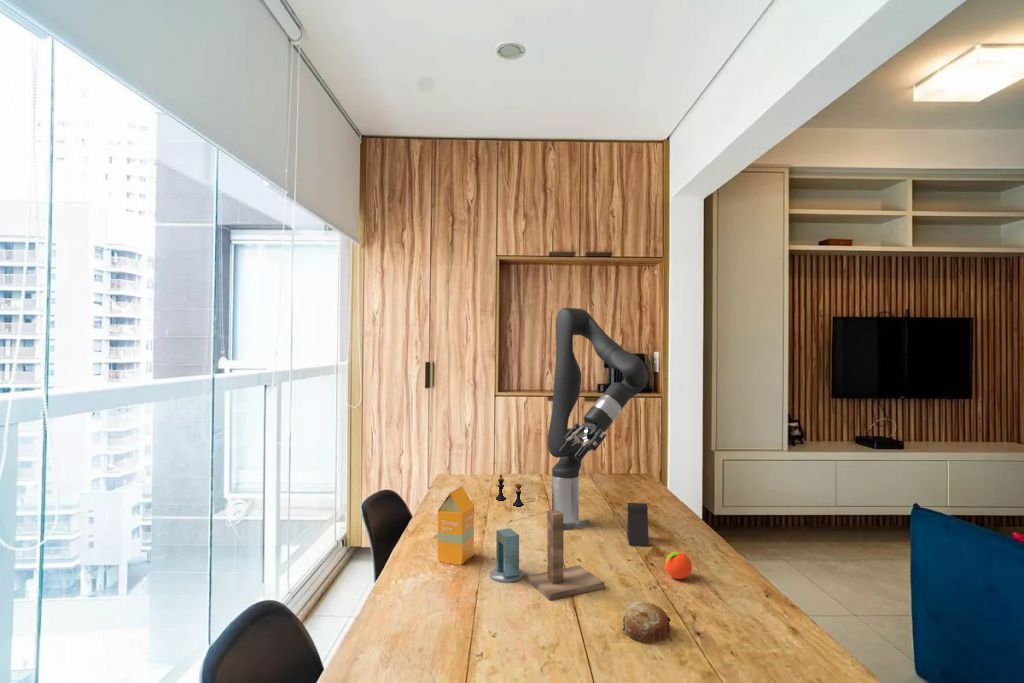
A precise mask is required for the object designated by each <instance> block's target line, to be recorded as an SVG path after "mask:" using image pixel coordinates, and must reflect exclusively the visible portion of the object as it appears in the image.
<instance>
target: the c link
mask: <svg viewBox="0 0 1024 683" xmlns="http://www.w3.org/2000/svg"><path fill="white" fill-rule="evenodd" d="M495 549H496V553H495V556H496V559H495V560H496V568H495V569H496V571H497V572H503V571H504V578H505V579H509V578H514V577H519V569H520V535H519V533H517V532H516V531H515V530H513V529H512V528H510V527H508V528H502V529H496V548H495Z"/></svg>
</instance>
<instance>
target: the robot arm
mask: <svg viewBox="0 0 1024 683" xmlns="http://www.w3.org/2000/svg"><path fill="white" fill-rule="evenodd" d="M574 336H582V337H583V338H585V339H587V340H588V341H589V342H591V344H592V347H593V349H594V352H595V354H596V355H597V357H599V359H600V360H602V361H603V363H605V364H606V365H607V366H608V367H610V368H611V369H613V370H617V371H618V370H619V371H620V373H621V374H622V376H623V380H622V381H621V382H618V381H617V382H612V383H611V384H610V385H609V386H608V388H606V390H605V391H604V393H603V394H602V395H601V396H600V397H599V398H597V400H596V401H595V402H594V403H593V404H592V406H591V407H590V408H589V410H587V412H586V413H585V414H584V416H583V421H584V423H583V424H582V425H580V424H578V423H574V425H573V426H572V427H571V428H570V427H569V420H570V416H571V413H572V412H573V409H574V408H575V405H576V404H577V401H578V399H579V397H580V394H581V387H582V372H581V367H580V365H579V363H578V360H577V359H576V356H575V354H574V349H573V348H574V346H573V345H574V344H573V342H574ZM553 379H554V380H553V395H552V405H551V406H552V407H551V408H552V409H551V416H550V422H549V428H548V432H547V449H548V452H549V453H550V455H551V456H552V457H554V458H559V460H558V461H557V462H556V464H554V465H553V466H552V470H551V474H552V476H551V481H552V482H551V483H552V485H551V486H552V487H551V489H552V490H551V493H552V510H551V511H556V510H558V511H560V512H562V513H563V523H568V522H574V521H580V502H579V501H580V483H579V482H580V481H579V480H580V478H579V477H580V469H581V468H582V460H583V459H584V457H585V456H586V455H587V454H588V452H591V451H593V452H595V451H596V450H597V449H598V448H599V447H600V445H601V444H602V442H603V441H604V440H605V439H606V437H607V434H606V432H607V430H608V429H609V428H610V427H611V426H612V425H613V423H614V421H615V420H616V419H617V418H618V416H619V415H620V413H621V411H622V410H623V408H625V406H626V405H627V403H629V401H630V400H631V399H632V398H634V397H635V396H637V394H639V393H640V392H641V391H642V390H643V389H644V388H646V385H647V384H648V380H649V375H648V372H647V368H646V365H645V362H644V361H643V360H642V359H641V358H640V357H639V356H637V355H635V354H633V353H632V352H630V351H627V350H626V349H624V348H623V347H622V346H621V345H619V344H618V343H617V342H616V341H615V340H613V339H612V338H611V337H610V336H609V335H608V334H607V333H606V332H605V331H604V330H603V328H601V327H600V325H599V324H598V323H597V321H596V320H595V319H594V318H593V316H592V315H591V314H590V313H589V312H588V311H587V310H586V309H583V308H578V307H577V308H575V307H563V308H561V309H559V310H558V313H557V315H556V318H555V367H554V378H553Z"/></svg>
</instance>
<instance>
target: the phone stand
mask: <svg viewBox="0 0 1024 683" xmlns="http://www.w3.org/2000/svg"><path fill="white" fill-rule="evenodd" d="M648 507H649V506H648V503H646V502H645V503H642V502H627V520H626V521H627V523H626V524H627V526H626V529H627V530H626V538H627V541H628V542H629V543H628V545H632V546H631V547H646V546H650V543H649V521H648V520H649V519H648V518H649V516H648V514H649V513H648Z"/></svg>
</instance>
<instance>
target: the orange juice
mask: <svg viewBox="0 0 1024 683" xmlns="http://www.w3.org/2000/svg"><path fill="white" fill-rule="evenodd" d="M466 493H467V492H466V491H465V489H464V487H463V486H460V487H458V488H456V489H455V490H453V491H451V492H449V494H448V495H447V496H446V497H447V498H446V500H445V501H443V503H442V504H441V506H440V507H439V509H438V510H437V562H438V561H441V562H440V563H442V562H449V563H455V564H454V565H456V564H463V563H464V562H465V561H466V560H467V559H468V558H469V557H470V556H471V557H472V556H474V555H475V552H474V549H475V548H474V547H475V546H474V545H475V543H474V542H475V538H474V537H475V536H474V535H475V520H474V518H475V516H474V515H475V512H474V505H473V504H472V502H471V501H470V499H469V497H468V496H467V494H466ZM473 554H474V555H473ZM471 557H470V558H471ZM470 558H469V559H470ZM469 559H468V560H469ZM468 560H467V561H468ZM467 561H466V562H467ZM466 562H465V563H466ZM449 563H448V564H449ZM465 563H464V564H465ZM464 564H463V565H464Z"/></svg>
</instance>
